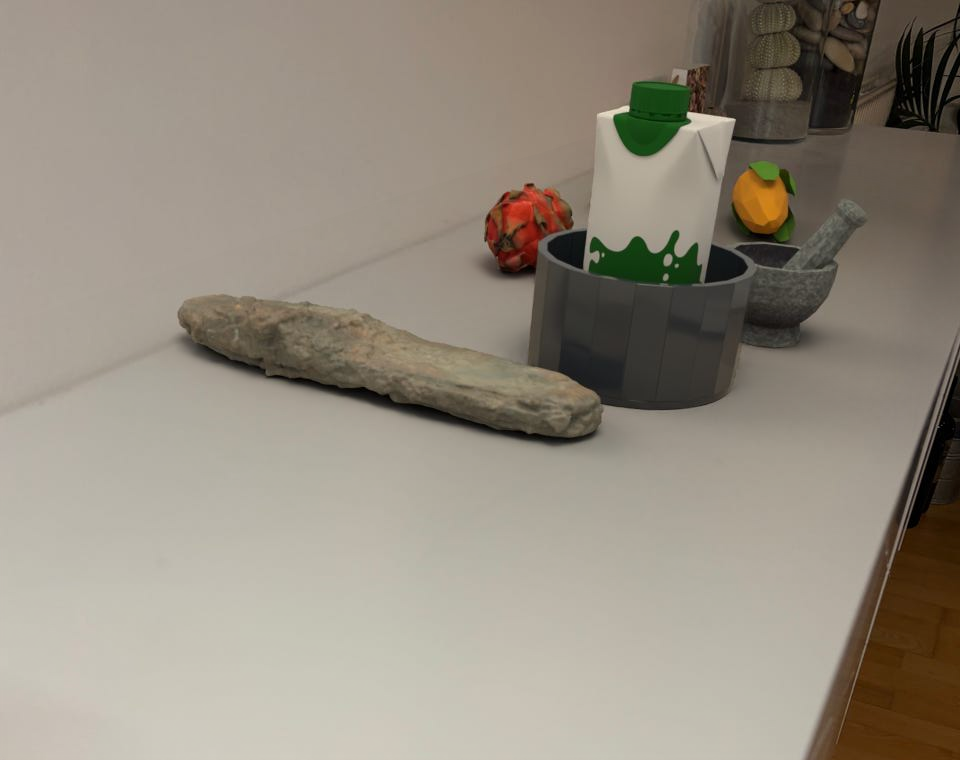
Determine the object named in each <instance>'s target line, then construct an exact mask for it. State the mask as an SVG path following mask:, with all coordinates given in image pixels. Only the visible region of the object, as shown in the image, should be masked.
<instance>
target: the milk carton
mask: <svg viewBox="0 0 960 760" xmlns="http://www.w3.org/2000/svg"><path fill="white" fill-rule="evenodd" d="M630 92H631V93H630V99H629V104H628V105H623V106H621V107H619V108H615V109H611V110H606V111H603V112H600V113H597V114H596V122H595V123H596V126H595V127H596V128H595V146H594V147H595V148H594V168H593V179H592V186H591V191H592V194H591V193H590V202H589V203H590V204H589V213H588V222H587V227H586V228H587V237H586V246H585V254H584V263H583V270H585V271H589V272H593V273H596V274H600V275H604V276H610V277H616V278H622V279H628V280H634V281H640V282H652V283H664V284H704V281H705V275H706V270H707V264H708V259H709V253H710V248H711V242H712V241H713V236H714V230H715V225H716V219H717V215H718V208H719V203H720V196H721V190H722V183H723V178H724V177H725V172H726V171H725V170H726V165H727V159H728V155H729V151H730V146H731V141H732V138H733V133H734V128H735V124H736V121H737V120H736V119H735V118H733V117H725V116H718V115H711V114H705V113H699V112H698V113H697V112H692V111H689V107H690V100H691V94H692V93H691V92H692V88H691V87H690V86H688V85H684V84H679V83H674V82H665V81H656V80H655V81H654V80H652V81H651V80H640V81H634V82H632V84H631V89H630Z"/></svg>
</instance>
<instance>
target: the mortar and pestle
mask: <svg viewBox="0 0 960 760" xmlns="http://www.w3.org/2000/svg"><path fill="white" fill-rule="evenodd" d="M868 219H869V218H868V216H867V213H866V212H865V211H864V209H863V208H862V207H861V206H860V205H859V204H858V203H856V202H854V201H852V200H851V199H849V198H842V199H841V200H840V201H839V202H838V203H837V204H836V207H835V211H834V212H833V213H832V214H831V215H830V216H829V217H828V218H827V220H826V221H825V222H824V223H823V224H822V225H821V226H820V227H819V228H818V229H817V230H816V232H814V233H813V235H812V236H811V237H810V238H809V239H808V240H807V241H806V242H805V243H804V244H803V245H802V246H800V245H799V246H798V245H792V244H785V243H775V242H768V241H746V242H732V243H730V244H729V245H726V246H727V247H730V248H733V249H736V250H738V251H739V252H741V253H743V254H744V255H746V256H748V257H749V258H751V259H752V260H753V261H754V263H755V265H756V267H757V268H758V270H757V275H756V280H755V285H754V289H753V294H752V299H751V304H750V309H749V314H748V319H747V323H746V328H745V333H744V338H743V343H746V344H748V345H750V346H751V345H752V346H757V347H765V348H773V349H777V348H786V347H787V348H788V347H793V346H794V345H795V344H797V342H799V340H800V335H801V324H802V323H803V322H805V321H806V320H808V319H809V318H810V317H811V316H813V315H814V314H815V313H816V312H817V311H818V310H819V309H820V308H821V306H822V305H823V304H824V302H826V300H827V299H828V298H829V296H830V293H831V291H832V288H833V285H834V283H835V280H836V276H837V274H838V273H837V272H838V269H839V265H840V263H838V262H837V261H836V260H835V257H836V256H837V254H838V253H839V252H840V251H841V250H842V248H843V247H844V245H846V243H847V241H849V239H850V238H851V237H852V235H853V234H854V233H855V231H856V230H857V229H859V228H862V227H863V226H865V224H866V223H867V222H868Z"/></svg>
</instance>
